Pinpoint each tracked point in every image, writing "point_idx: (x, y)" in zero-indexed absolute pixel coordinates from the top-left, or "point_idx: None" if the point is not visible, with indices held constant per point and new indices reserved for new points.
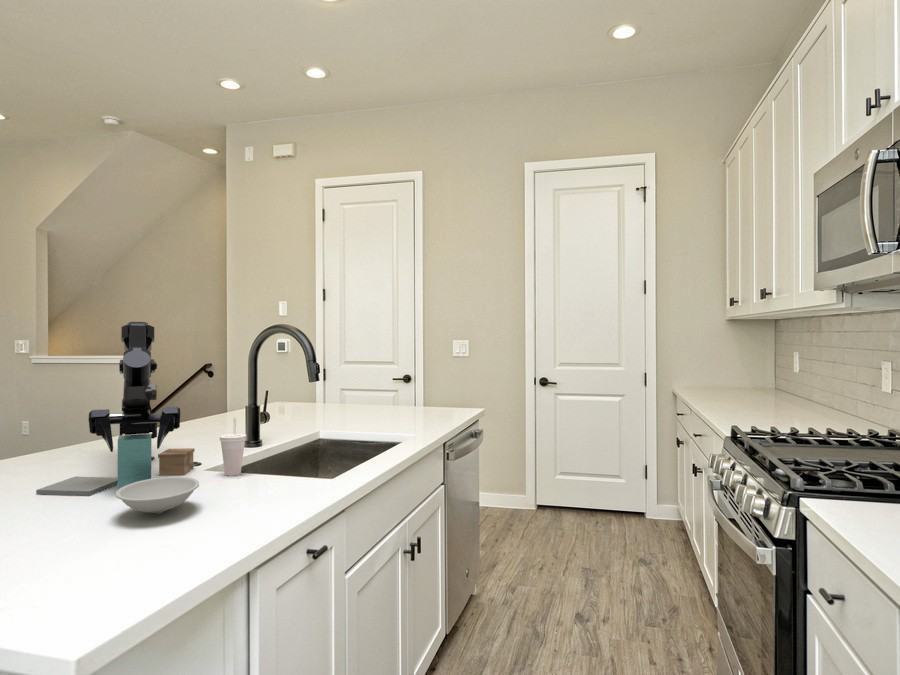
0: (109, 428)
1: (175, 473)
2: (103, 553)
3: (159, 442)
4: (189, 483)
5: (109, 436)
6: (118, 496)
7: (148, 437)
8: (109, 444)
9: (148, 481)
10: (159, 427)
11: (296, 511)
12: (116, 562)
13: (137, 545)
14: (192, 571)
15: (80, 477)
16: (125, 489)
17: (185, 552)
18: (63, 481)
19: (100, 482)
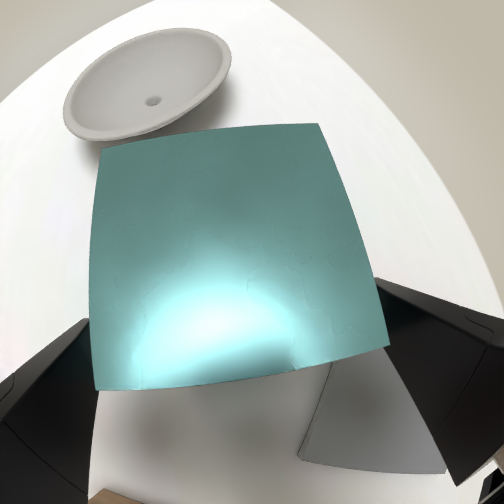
0: (497, 339)
1: (130, 502)
2: (220, 24)
3: (71, 329)
4: (78, 115)
5: (443, 311)
6: (220, 38)
7: (115, 177)
8: (400, 286)
9: (164, 115)
10: (9, 407)
11: (3, 110)
12: (204, 15)
13: None
14: (147, 9)
15: (430, 466)
16: (216, 74)
17: (144, 23)
18: None
19: (364, 398)
